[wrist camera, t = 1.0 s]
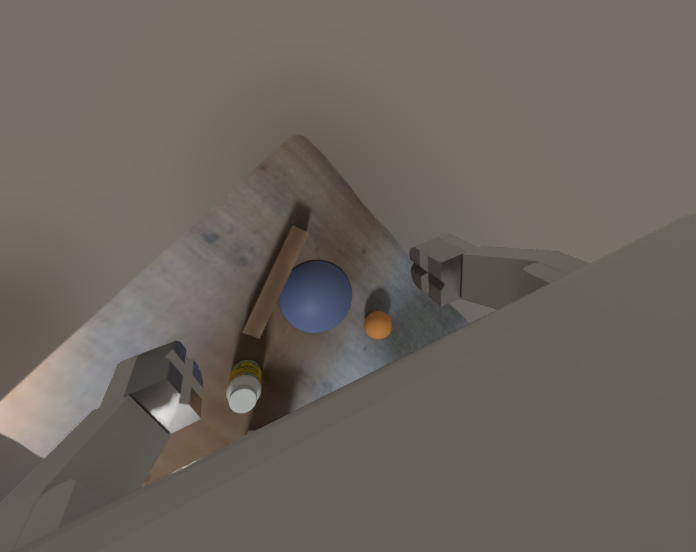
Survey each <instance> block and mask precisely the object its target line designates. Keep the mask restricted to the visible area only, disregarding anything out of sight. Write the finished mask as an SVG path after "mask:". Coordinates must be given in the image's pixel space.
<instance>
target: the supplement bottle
mask: <svg viewBox="0 0 696 552" xmlns="http://www.w3.org/2000/svg"><path fill="white" fill-rule="evenodd" d="M260 394H261V368H260V366H259V365H258V364H257V363H256V362H254V361H252V360H244V361H241V362H239V363H238V364H236V365H235V366H234V367H233V369H232V371H231V374H230V378H229V382H228V386H227V391H226V396H227V399H228V401H229V405H230V408H231V409H232V410H233V411H235V412H237V413H245V412H248V411H250V410H251V409H252V408H253V407H254V406H255V404H256V401H257V400H258V398H259V396H260Z"/></svg>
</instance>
